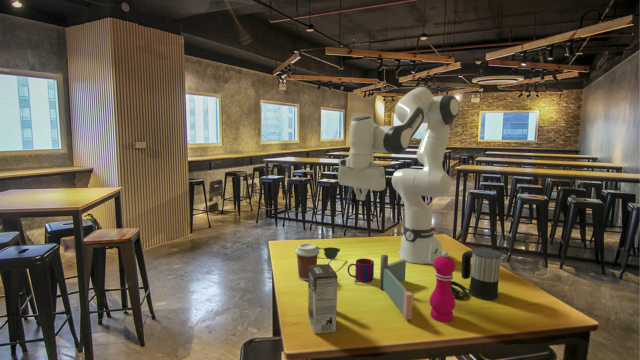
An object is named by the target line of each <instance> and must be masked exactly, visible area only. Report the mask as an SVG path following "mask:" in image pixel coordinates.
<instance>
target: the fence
mask: <svg viewBox="0 0 640 360" xmlns="http://www.w3.org/2000/svg"><path fill="white" fill-rule="evenodd" d="M388 262H389V255H388V254H381V255H380V272H379V273H380V274H379V275H380V276H379V277H380V278H379V290H381V291H385V290H384V289H383V278H384V269H386V268H387V269H388V270H389V271H390V272H391V273H392V274H393V275H394V277H395V278H396V279H397V280H398V281H399V282H400V283H401V284H402V283H403V282H406V269H407V268H406V267H407V266H406V265H407V263H406V262H407V261H406V260H404V259H399V260H397V261H394V262H391V263H388ZM334 272H335V273H336V274H337V272H336V271H334Z"/></svg>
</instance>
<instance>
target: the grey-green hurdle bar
mask: <svg viewBox="0 0 640 360" xmlns="http://www.w3.org/2000/svg"><path fill="white" fill-rule="evenodd" d="M383 289H384V290H383V291H385V293H386V295H388V296H389V297H390V299H391V301H392V302H393V303H394V305H395V306H396V308H398V310H399V311H400V312H401V313H402V317H403V318H404V319H405V320H412V318H413V303H414V302H413V301H414V300H413V299H414V297H413V296H414V295H413V293H412V292H411V291H408V290H407V288H405V286H404V285H403V284H402V282H401V283H400V282H399V281H398V280H397V279H396V278H395V277H394V275H393V274H392V273H391V272H390V271H389V270H388V269H387V268H386V269H384V278H383Z"/></svg>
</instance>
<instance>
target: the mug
mask: <svg viewBox="0 0 640 360" xmlns="http://www.w3.org/2000/svg"><path fill="white" fill-rule="evenodd" d="M374 265H375V261H374V260H372V258H371V259H370V258H365V257H364V258H363V257H362V258H358V259H356V260H355V263H350V264H349V265H348V266H347V273H348V275H349V276H350V277H352V278H355V281H357V282H359V283H364V284H365V283H371V282H373V281H374V274H375V267H374ZM352 266H354V267H355V275H353V274H351V272H350V268H351V267H352Z"/></svg>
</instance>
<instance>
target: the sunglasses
mask: <svg viewBox="0 0 640 360" xmlns="http://www.w3.org/2000/svg"><path fill="white" fill-rule="evenodd" d="M317 248H318V249H319V250H323V251H324V252H323V255H324V257H325V258H326V259H330V260H329V262H328V263H327V264H329V265H330V263H331V261H333V260H334V259H336V258H337V256H338V254H339V252H340V251H341V249H340V248H337V247H330V246H329V247H324V248H323V247H319V246H317Z"/></svg>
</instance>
